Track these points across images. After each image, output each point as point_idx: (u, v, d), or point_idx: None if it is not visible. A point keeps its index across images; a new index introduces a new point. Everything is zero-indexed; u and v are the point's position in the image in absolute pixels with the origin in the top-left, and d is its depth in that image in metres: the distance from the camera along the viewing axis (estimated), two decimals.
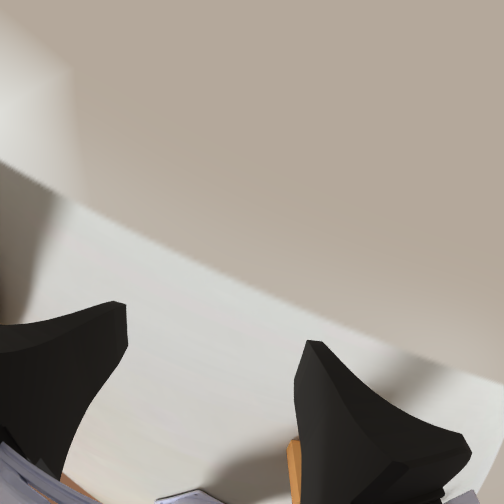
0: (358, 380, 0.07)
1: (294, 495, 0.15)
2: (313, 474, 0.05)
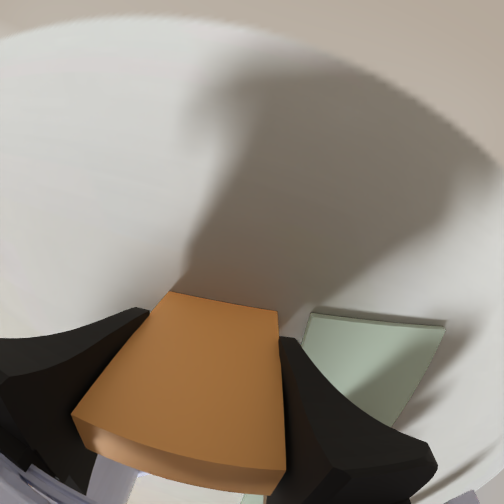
0: (324, 378, 0.07)
1: None
2: None
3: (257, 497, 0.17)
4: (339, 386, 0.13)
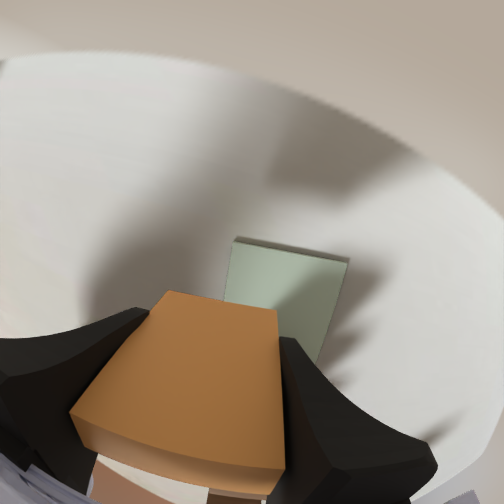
0: (324, 378, 0.07)
1: None
2: None
3: None
4: (261, 303, 0.19)
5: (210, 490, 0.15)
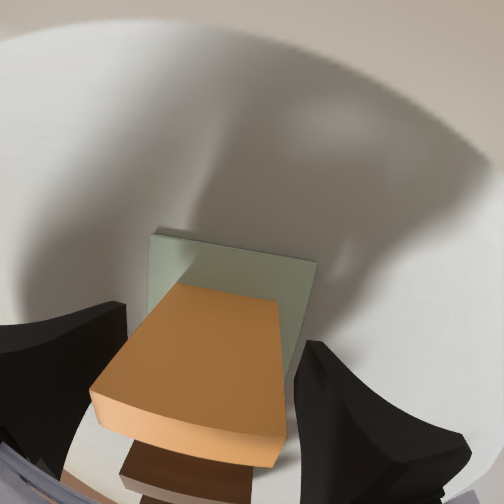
0: (358, 380, 0.07)
1: None
2: (313, 474, 0.05)
3: None
4: None
5: None
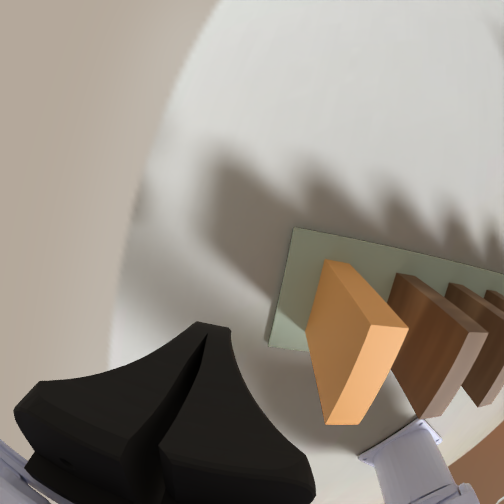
0: (233, 367, 0.07)
1: None
2: None
3: None
4: None
5: None
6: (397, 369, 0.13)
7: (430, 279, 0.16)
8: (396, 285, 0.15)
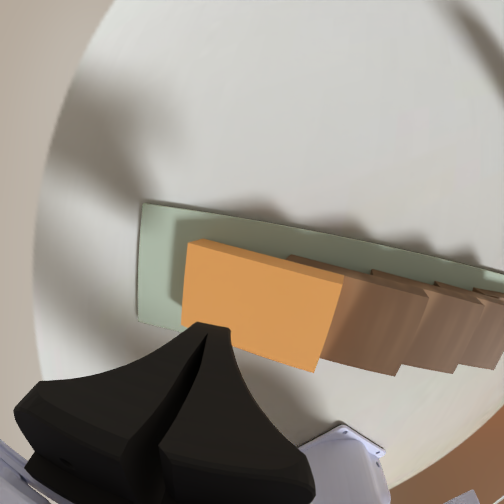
0: (233, 367, 0.07)
1: None
2: None
3: None
4: None
5: None
6: (337, 356, 0.14)
7: (310, 258, 0.16)
8: None
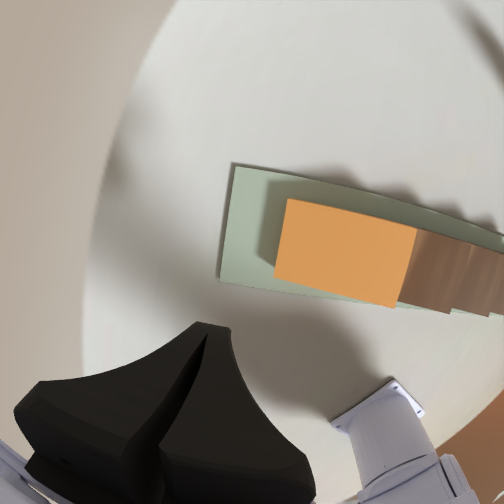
0: (233, 367, 0.07)
1: None
2: None
3: None
4: None
5: None
6: (406, 297, 0.16)
7: None
8: None
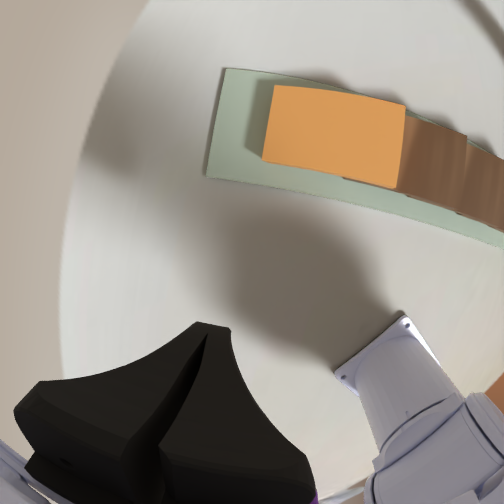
0: (233, 367, 0.07)
1: (374, 183, 0.15)
2: None
3: (456, 218, 0.17)
4: None
5: None
6: (408, 186, 0.14)
7: None
8: None
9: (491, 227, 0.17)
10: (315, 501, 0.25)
